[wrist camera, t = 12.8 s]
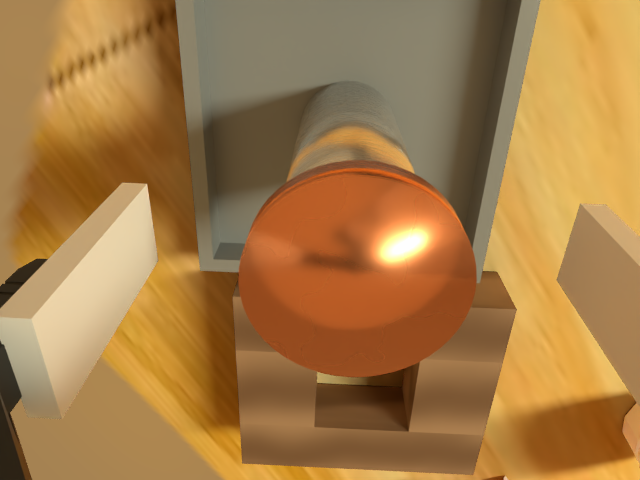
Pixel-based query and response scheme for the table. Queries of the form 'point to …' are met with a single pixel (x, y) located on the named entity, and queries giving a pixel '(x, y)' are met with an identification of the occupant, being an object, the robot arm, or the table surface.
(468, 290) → the copper-capped cylinder
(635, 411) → the white cup
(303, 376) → the socket block
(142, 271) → the robot arm
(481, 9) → the tray
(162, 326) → the table surface
